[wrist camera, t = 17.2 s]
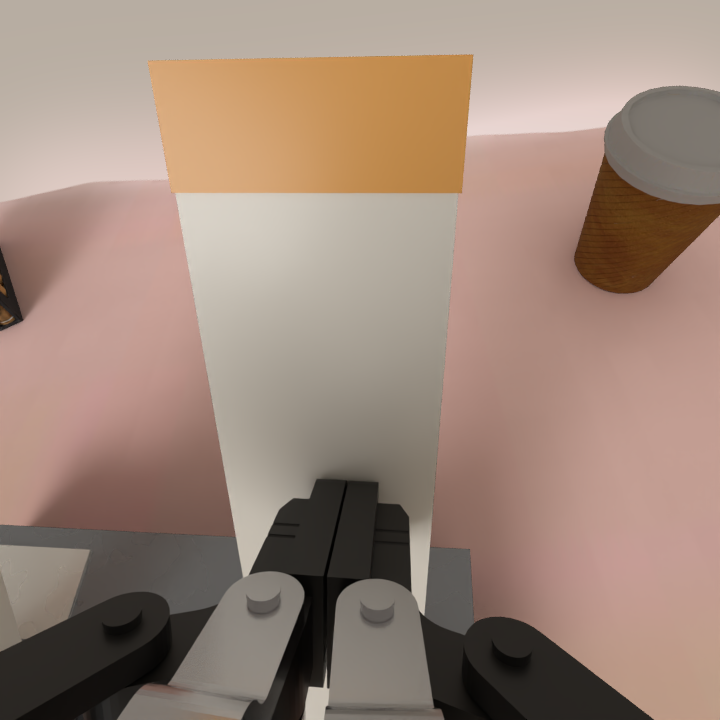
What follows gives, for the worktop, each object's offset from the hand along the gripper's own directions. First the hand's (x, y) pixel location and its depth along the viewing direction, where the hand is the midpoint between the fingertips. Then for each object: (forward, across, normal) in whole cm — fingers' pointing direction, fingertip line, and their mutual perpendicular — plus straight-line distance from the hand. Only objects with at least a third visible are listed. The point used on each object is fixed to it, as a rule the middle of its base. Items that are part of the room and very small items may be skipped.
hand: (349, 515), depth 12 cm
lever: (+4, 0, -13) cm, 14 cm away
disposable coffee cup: (+31, +18, +5) cm, 37 cm away
